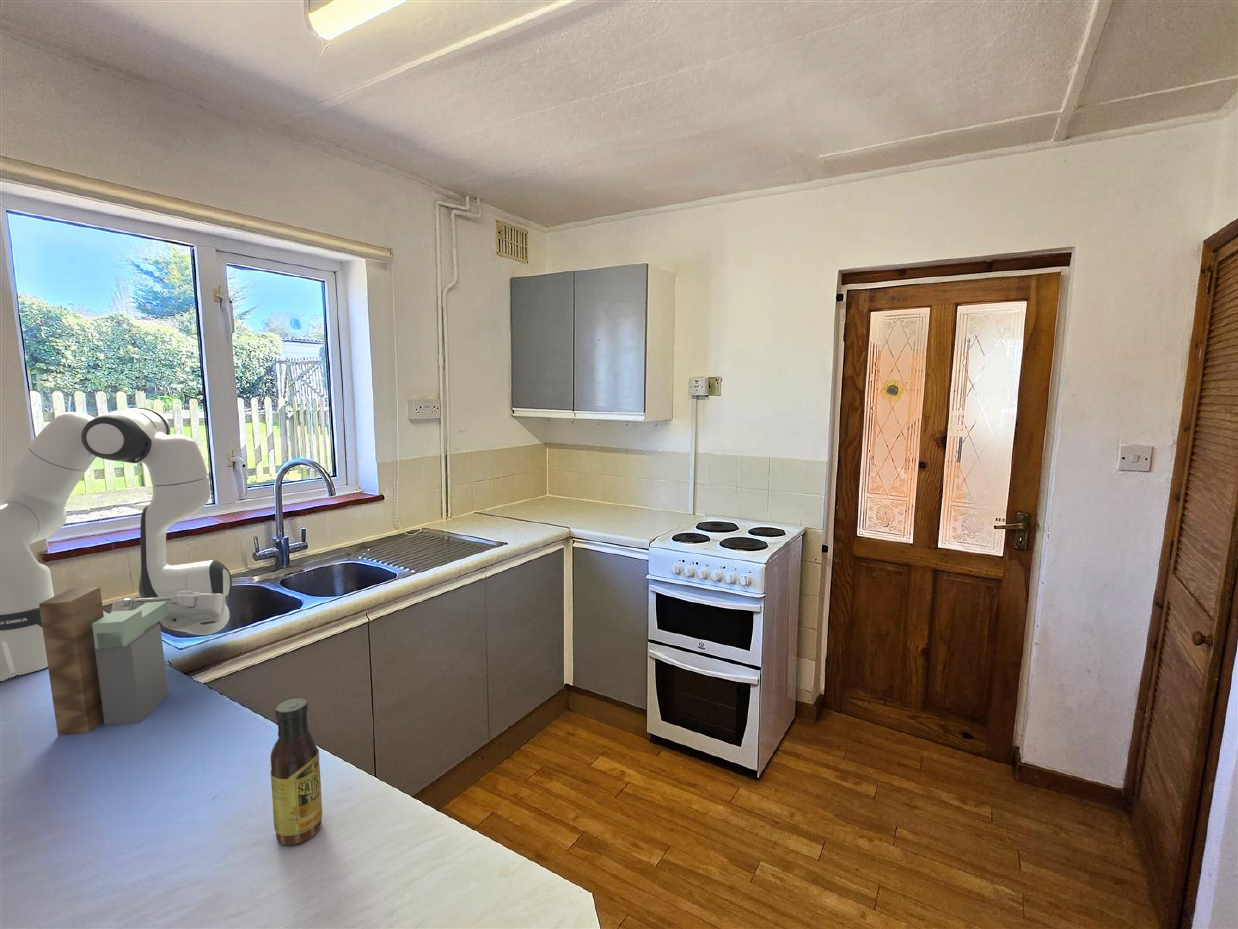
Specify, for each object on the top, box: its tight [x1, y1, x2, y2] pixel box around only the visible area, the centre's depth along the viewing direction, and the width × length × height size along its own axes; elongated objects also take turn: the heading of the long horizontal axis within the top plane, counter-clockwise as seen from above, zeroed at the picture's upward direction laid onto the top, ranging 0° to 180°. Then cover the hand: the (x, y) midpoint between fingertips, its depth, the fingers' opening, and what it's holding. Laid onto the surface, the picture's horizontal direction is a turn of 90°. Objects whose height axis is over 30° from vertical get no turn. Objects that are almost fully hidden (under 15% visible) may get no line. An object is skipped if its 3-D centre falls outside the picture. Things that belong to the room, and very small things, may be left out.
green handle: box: [92, 601, 169, 649], centre depth 118 cm, size 5×16×5 cm, turn 12°
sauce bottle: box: [270, 697, 323, 846], centre depth 84 cm, size 7×6×20 cm
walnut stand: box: [39, 586, 105, 736], centre depth 112 cm, size 5×8×26 cm, turn 12°
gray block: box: [95, 623, 169, 726], centre depth 117 cm, size 6×10×16 cm, turn 12°
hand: (150, 601), depth 123 cm, fingers open, 8 cm apart
